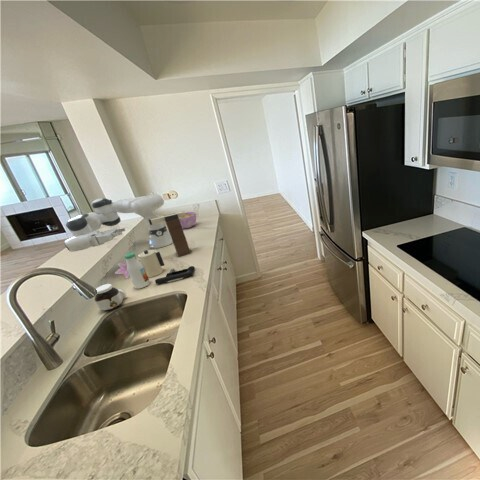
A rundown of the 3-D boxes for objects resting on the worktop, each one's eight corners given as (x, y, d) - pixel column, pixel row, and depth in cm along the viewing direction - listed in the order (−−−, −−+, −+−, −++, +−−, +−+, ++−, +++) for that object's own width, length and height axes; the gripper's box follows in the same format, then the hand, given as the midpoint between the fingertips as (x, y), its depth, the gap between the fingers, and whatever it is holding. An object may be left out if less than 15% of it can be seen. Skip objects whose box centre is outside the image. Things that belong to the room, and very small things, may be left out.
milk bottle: (143, 289, 148) (129, 257, 140) (131, 288, 150) (117, 257, 142) (153, 281, 155) (140, 251, 147) (142, 281, 157) (129, 251, 149)
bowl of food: (176, 232, 236) (172, 220, 231) (176, 227, 252) (172, 215, 248) (200, 226, 244) (196, 215, 240) (198, 221, 261) (194, 210, 256)
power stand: (176, 252, 193) (163, 215, 181) (188, 249, 197) (175, 212, 185) (178, 257, 185) (164, 218, 174) (190, 253, 189) (177, 215, 178)
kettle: (142, 280, 158) (132, 257, 152) (141, 274, 166) (131, 252, 159) (166, 272, 165) (158, 249, 159) (165, 267, 172) (156, 245, 166)
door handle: (160, 270, 163) (153, 281, 148) (194, 262, 168) (191, 272, 153) (162, 275, 164) (155, 286, 149) (196, 267, 169) (193, 277, 154)
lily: (115, 282, 162) (113, 272, 156) (118, 268, 170) (117, 257, 164) (138, 281, 168) (137, 271, 162) (141, 267, 175) (140, 257, 170)
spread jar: (100, 314, 130) (89, 295, 125) (101, 304, 138) (91, 285, 134) (129, 304, 136) (119, 284, 131) (128, 294, 144) (119, 276, 140)
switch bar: (149, 223, 175) (148, 219, 174) (185, 215, 186) (183, 210, 185) (150, 225, 173) (148, 220, 172) (186, 216, 184) (184, 211, 183)
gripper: (104, 238, 174) (128, 231, 179) (95, 247, 156) (122, 239, 161) (100, 229, 172) (124, 223, 177) (90, 237, 154) (117, 229, 159)
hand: (123, 231), depth 169 cm, fingers open, 8 cm apart
